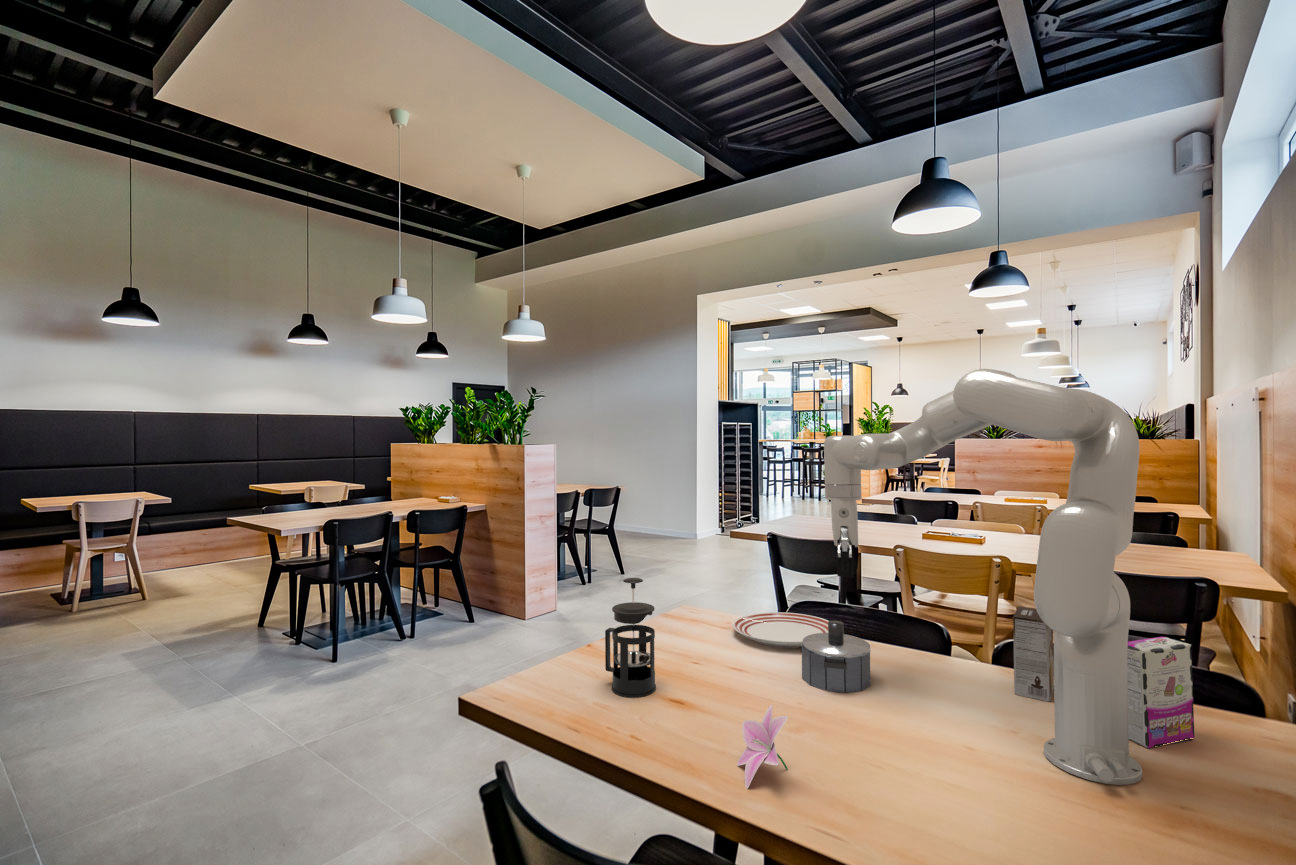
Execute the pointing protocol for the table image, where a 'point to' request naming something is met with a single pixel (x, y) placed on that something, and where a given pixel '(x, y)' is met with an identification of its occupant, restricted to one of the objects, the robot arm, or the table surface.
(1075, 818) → the table surface
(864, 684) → the pot
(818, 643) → the lid
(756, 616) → the dinner plate
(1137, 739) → the candy bar box
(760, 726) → the lily
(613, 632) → the french press
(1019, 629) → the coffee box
